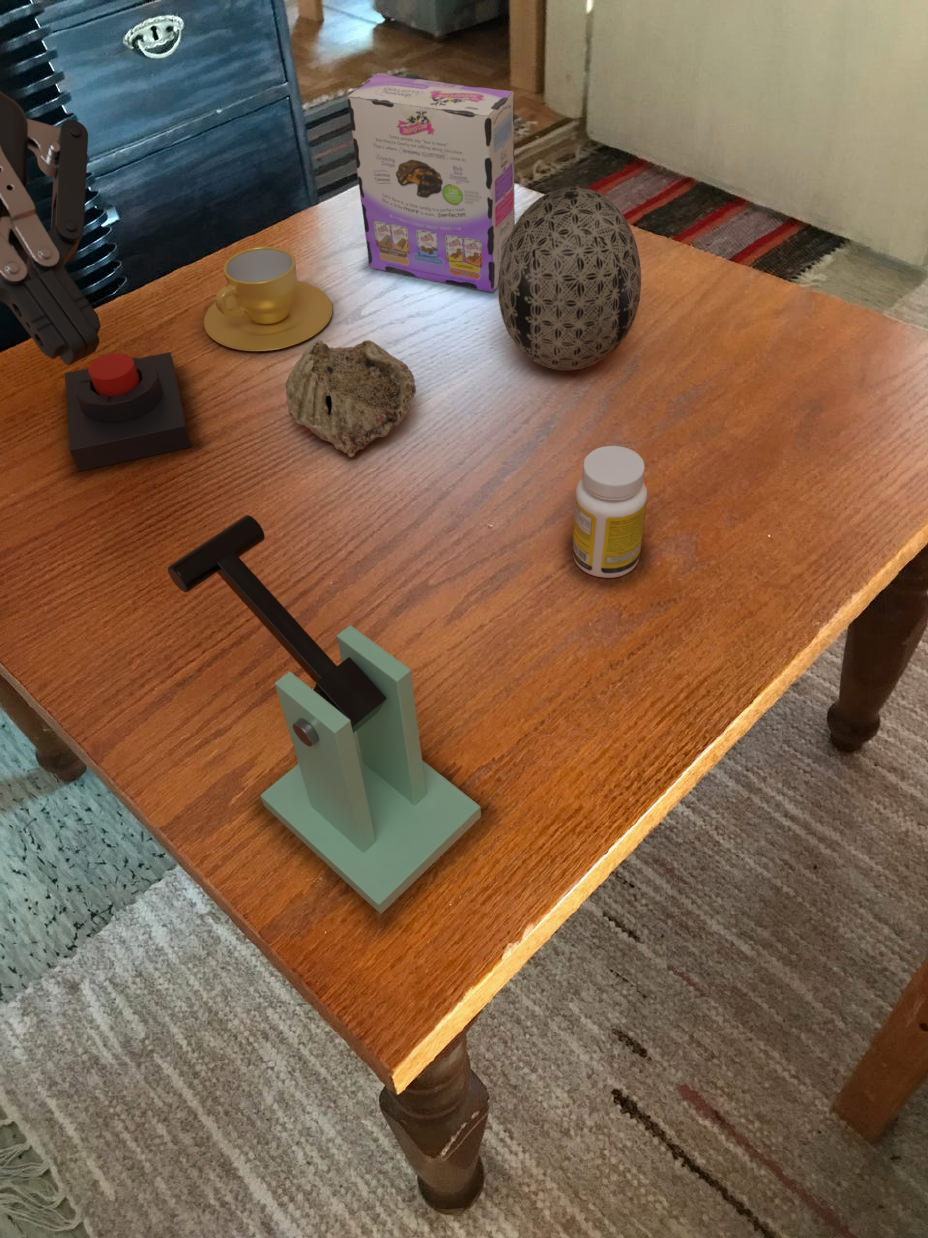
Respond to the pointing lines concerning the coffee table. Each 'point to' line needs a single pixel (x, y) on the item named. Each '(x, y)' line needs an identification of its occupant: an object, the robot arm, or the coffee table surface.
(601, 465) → the supplement bottle
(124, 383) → the button
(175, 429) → the button housing
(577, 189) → the decorative egg
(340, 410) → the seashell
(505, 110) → the candy box
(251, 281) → the cup
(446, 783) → the bracket
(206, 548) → the lever
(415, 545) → the coffee table surface
